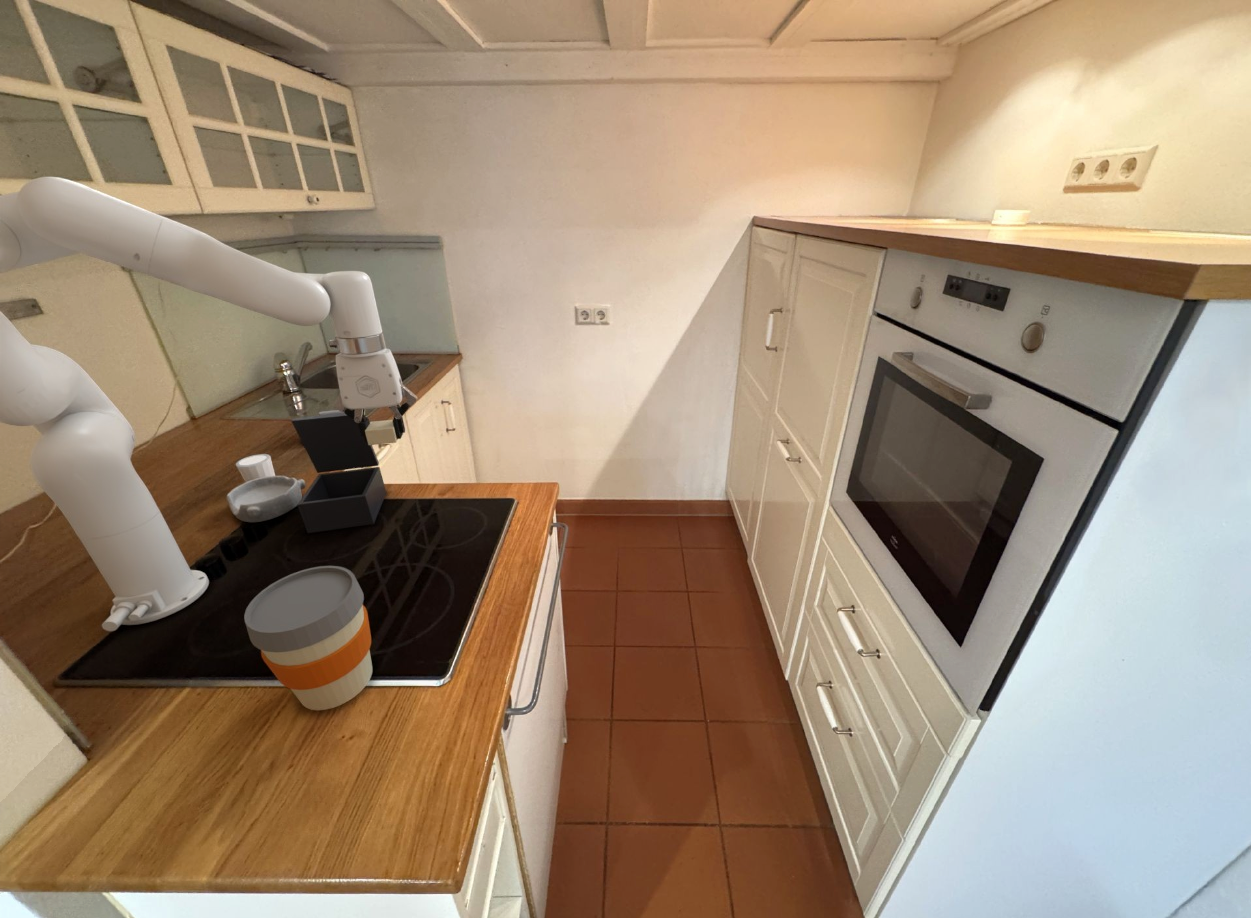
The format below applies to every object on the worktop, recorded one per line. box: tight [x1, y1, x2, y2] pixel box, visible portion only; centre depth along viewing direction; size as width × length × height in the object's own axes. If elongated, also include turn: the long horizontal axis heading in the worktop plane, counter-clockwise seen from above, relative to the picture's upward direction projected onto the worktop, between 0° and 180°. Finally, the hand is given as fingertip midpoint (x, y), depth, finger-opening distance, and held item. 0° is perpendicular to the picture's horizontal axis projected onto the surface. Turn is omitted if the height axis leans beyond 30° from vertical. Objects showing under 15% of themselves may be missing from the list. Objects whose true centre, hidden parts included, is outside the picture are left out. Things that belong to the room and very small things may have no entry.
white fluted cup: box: [235, 453, 276, 483], centre depth 119 cm, size 7×7×7 cm
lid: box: [291, 409, 380, 474], centre depth 108 cm, size 14×13×5 cm
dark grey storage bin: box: [296, 466, 388, 534], centre depth 107 cm, size 14×13×7 cm
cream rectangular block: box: [365, 419, 399, 446], centre depth 97 cm, size 5×5×3 cm
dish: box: [226, 475, 307, 523], centre depth 110 cm, size 14×14×5 cm
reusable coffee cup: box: [243, 565, 373, 711], centre depth 65 cm, size 13×13×15 cm
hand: (384, 436), depth 97 cm, fingers closed on cream rectangular block, 5 cm apart
